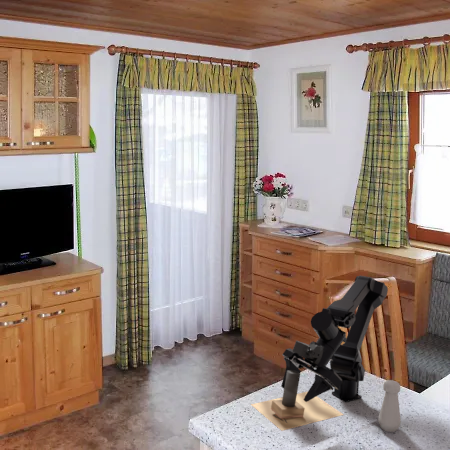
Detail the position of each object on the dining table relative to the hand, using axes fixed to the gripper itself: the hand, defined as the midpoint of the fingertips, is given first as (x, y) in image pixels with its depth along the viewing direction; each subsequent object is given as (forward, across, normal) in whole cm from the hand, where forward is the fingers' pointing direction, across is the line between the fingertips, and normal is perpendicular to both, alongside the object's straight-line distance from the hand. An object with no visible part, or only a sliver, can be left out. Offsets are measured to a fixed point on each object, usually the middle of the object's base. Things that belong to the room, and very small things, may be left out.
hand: (293, 394), depth 154 cm
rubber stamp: (+4, -3, +5) cm, 7 cm away
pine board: (+3, -4, +9) cm, 11 cm away
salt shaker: (-8, +15, +21) cm, 27 cm away
